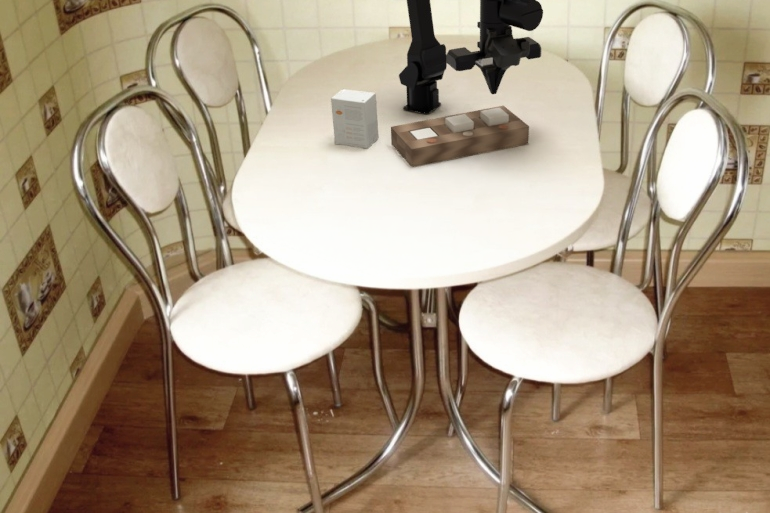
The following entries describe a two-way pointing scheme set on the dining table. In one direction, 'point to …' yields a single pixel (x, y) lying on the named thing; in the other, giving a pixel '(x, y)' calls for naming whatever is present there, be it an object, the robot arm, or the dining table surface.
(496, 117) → the key
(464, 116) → the key mid
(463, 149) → the key board
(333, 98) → the small box
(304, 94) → the dining table surface
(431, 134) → the key
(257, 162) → the dining table surface
